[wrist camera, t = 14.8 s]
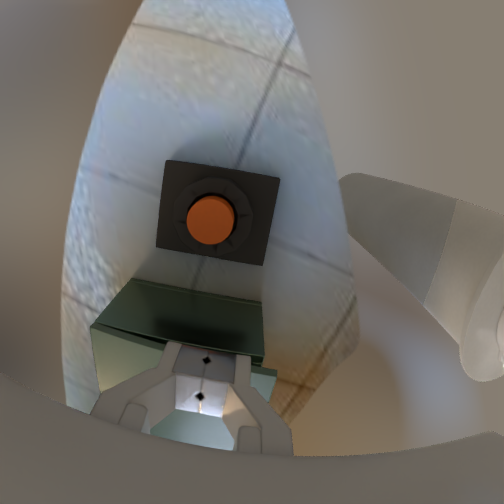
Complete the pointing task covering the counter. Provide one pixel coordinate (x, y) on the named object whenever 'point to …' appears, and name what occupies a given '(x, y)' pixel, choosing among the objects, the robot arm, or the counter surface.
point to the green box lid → (147, 356)
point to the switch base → (230, 189)
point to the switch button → (210, 220)
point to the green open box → (188, 318)
